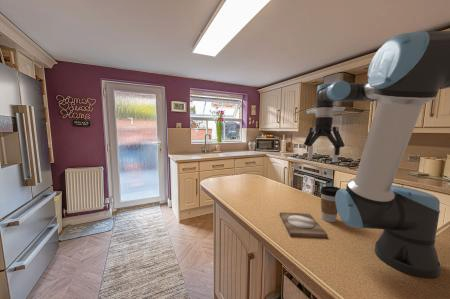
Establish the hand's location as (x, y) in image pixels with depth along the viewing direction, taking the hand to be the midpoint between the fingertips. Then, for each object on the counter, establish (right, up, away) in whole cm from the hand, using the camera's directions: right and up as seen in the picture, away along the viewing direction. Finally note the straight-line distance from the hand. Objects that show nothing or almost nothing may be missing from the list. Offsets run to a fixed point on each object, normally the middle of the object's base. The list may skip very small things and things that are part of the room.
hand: (321, 160), depth 95 cm
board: (-15, -27, -12) cm, 34 cm away
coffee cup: (0, -27, -6) cm, 28 cm away
